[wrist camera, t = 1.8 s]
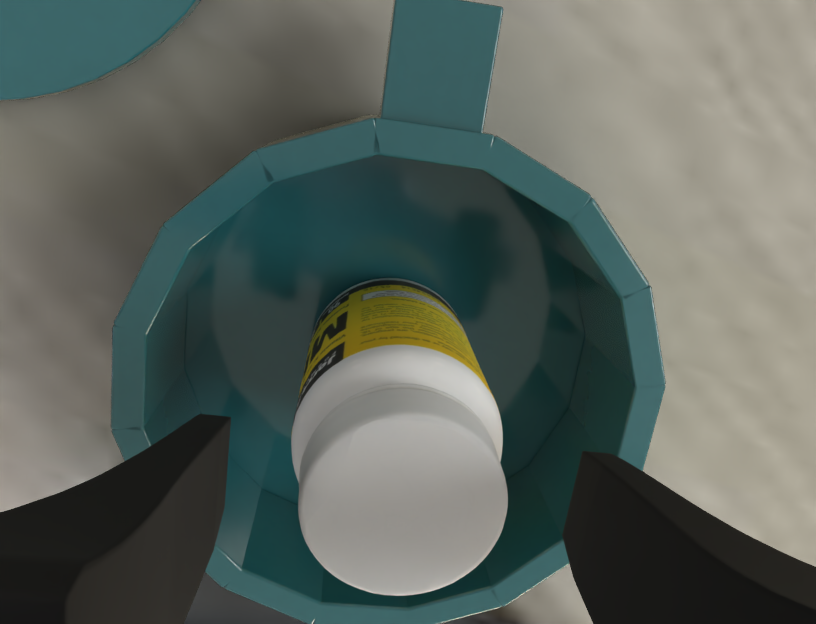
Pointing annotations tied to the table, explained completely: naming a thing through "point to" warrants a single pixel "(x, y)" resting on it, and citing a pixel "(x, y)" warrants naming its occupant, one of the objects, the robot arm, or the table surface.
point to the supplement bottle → (396, 443)
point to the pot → (405, 259)
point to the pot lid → (78, 41)
